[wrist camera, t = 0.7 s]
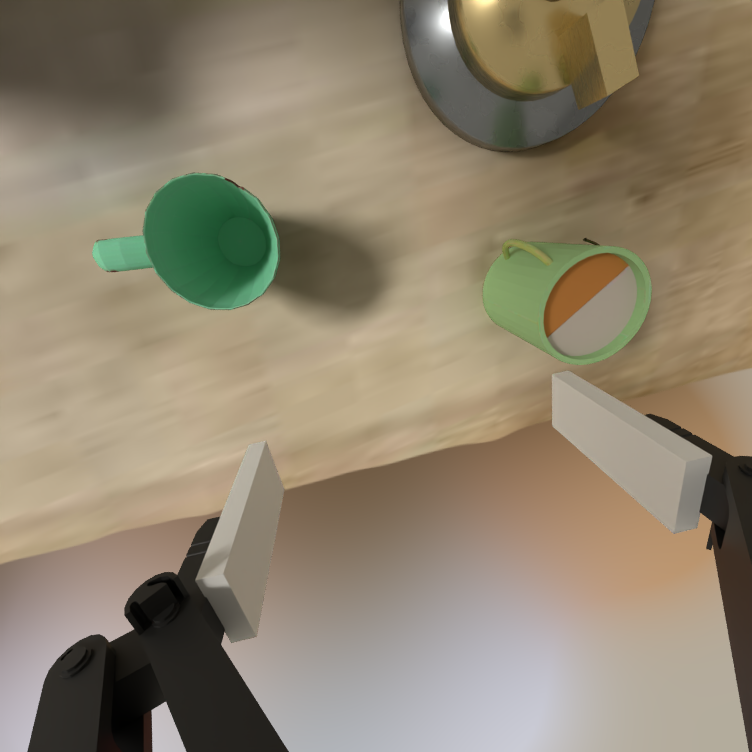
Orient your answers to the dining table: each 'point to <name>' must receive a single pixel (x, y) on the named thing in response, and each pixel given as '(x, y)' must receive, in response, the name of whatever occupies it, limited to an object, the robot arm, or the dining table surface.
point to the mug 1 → (202, 242)
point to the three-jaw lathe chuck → (546, 46)
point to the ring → (476, 103)
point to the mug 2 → (568, 297)
